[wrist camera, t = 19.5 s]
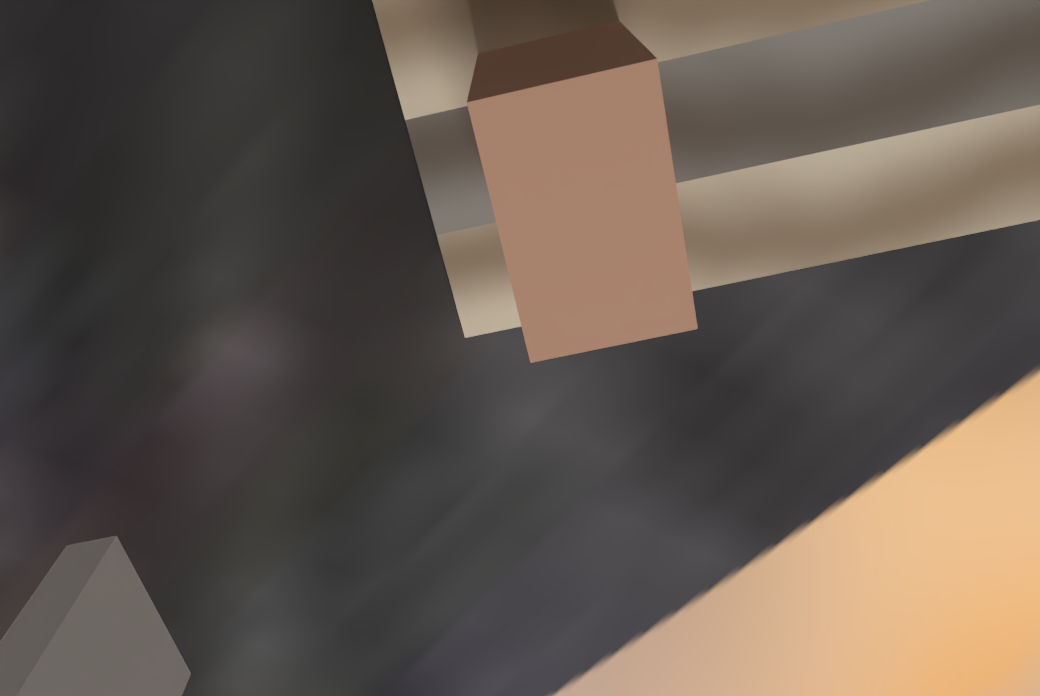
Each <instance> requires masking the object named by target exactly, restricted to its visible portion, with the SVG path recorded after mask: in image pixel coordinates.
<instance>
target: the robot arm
mask: <svg viewBox="0 0 1040 696" xmlns="http://www.w3.org/2000/svg"><path fill="white" fill-rule="evenodd" d="M190 675H191V673H190V671H189V669H188V667H187V665H186V664H185V662H184V660H183V658H182V656H181V654H180V652H179V651H178V649H177V647H176V645H175V643H174V641H173V640H172V638H171V636H170V634H169V632H168V630H167V628H166V627H165V625H164V623H163V621H162V619H161V617H160V615H159V614H158V612H157V610H156V608H155V606H154V604H153V602H152V601H151V599H150V597H149V595H148V593H147V591H146V589H145V588H144V586H143V584H142V582H141V580H140V578H139V577H138V575H137V573H136V571H135V569H134V567H133V565H132V564H131V562H130V560H129V558H128V556H127V554H126V552H125V551H124V549H123V547H122V545H121V543H120V541H119V539H118V538H117V536H112V537H107V538H102V539H97V540H92V541H87V542H82V543H77V544H72V545H67V546H66V547H65V549H64V550H63V552H62V553H61V554H60V556H59V557H58V559H57V560H56V562H55V563H54V565H53V566H52V567H51V569H50V570H49V572H48V573H47V575H46V576H45V577H44V579H43V580H42V582H41V583H40V585H39V586H38V588H37V589H36V590H35V592H34V593H33V595H32V596H31V598H30V599H29V601H28V602H27V603H26V605H25V606H24V608H23V609H22V611H21V612H20V614H19V615H18V616H17V618H16V619H15V621H14V622H13V624H12V625H11V626H10V628H9V629H8V631H7V632H6V634H5V635H4V637H3V638H2V639H1V641H0V696H182V694H183V692H184V689H185V687H186V684H187V682H188V680H189V677H190Z"/></svg>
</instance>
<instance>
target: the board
mask: <svg viewBox="0 0 1040 696" xmlns="http://www.w3.org/2000/svg"><path fill="white" fill-rule="evenodd" d="M372 2H373V5H374V9H375V13H376V16H377V20H378V23H379V27H380V31H381V34H382V38H383V42H384V45H385V49H386V53H387V56H388V60H389V63H390V67H391V71H392V74H393V78H394V82H395V85H396V89H397V93H398V96H399V100H400V103H401V107H402V111H403V114H404V118H405V122H406V125H407V129H408V132H409V136H410V140H411V143H412V147H413V151H414V154H415V158H416V162H417V165H418V169H419V172H420V176H421V180H422V183H423V187H424V191H425V194H426V198H427V201H428V205H429V209H430V212H431V216H432V220H433V223H434V227H435V231H436V234H437V238H438V241H439V245H440V249H441V252H442V256H443V260H444V263H445V267H446V270H447V274H448V278H449V281H450V285H451V289H452V292H453V296H454V300H455V303H456V307H457V310H458V314H459V318H460V321H461V325H462V329H463V332H464V336H465V338H467V337H472V336H476V335H481V334H486V333H491V332H496V331H501V330H506V329H511V328H515V327H520V326H521V322H520V318H519V314H518V310H517V306H516V302H515V298H514V294H513V289H512V285H511V281H510V277H509V273H508V269H507V265H506V261H505V257H504V253H503V249H502V244H501V240H500V236H499V232H498V228H497V224H496V220H495V216H494V212H493V208H492V204H491V200H490V195H489V191H488V187H487V183H486V179H485V175H484V171H483V167H482V163H481V159H480V155H479V151H478V146H477V142H476V138H475V134H474V130H473V126H472V122H471V118H470V114H469V110H468V106H467V99H468V95H469V90H470V86H471V82H472V77H473V73H474V68H475V64H476V60H477V55H478V54H479V53H483V52H487V51H491V50H496V49H500V48H504V47H508V46H513V45H517V44H521V43H525V42H530V41H534V40H538V39H542V38H547V37H551V36H555V35H559V34H564V33H568V32H572V31H576V30H581V29H585V28H589V27H593V26H598V25H602V24H606V23H610V22H615V21H620V22H621V23H622V24H623V25H624V26H625V27H626V28H627V29H628V30H629V31H630V32H631V33H632V34H633V35H634V36H635V37H636V38H637V39H638V40H639V41H640V42H641V43H642V44H643V45H644V46H645V47H646V48H647V49H648V50H649V51H650V52H651V53H652V54H653V55H654V56H655V57H656V58H657V60H658V67H659V74H660V80H661V87H662V94H663V100H664V107H665V114H666V121H667V127H668V134H669V141H670V147H671V154H672V161H673V167H674V174H675V181H676V187H677V194H678V201H679V207H680V214H681V221H682V228H683V234H684V241H685V248H686V254H687V261H688V268H689V274H690V281H691V288H692V291H695V290H700V289H705V288H710V287H715V286H720V285H725V284H729V283H734V282H739V281H744V280H749V279H754V278H759V277H764V276H768V275H773V274H778V273H783V272H788V271H793V270H798V269H802V268H807V267H812V266H817V265H822V264H827V263H832V262H837V261H841V260H846V259H851V258H856V257H861V256H866V255H871V254H875V253H880V252H885V251H890V250H895V249H900V248H905V247H910V246H914V245H919V244H924V243H929V242H934V241H939V240H944V239H948V238H953V237H958V236H963V235H968V234H973V233H978V232H983V231H987V230H992V229H997V228H1002V227H1007V226H1012V225H1017V224H1021V223H1026V222H1031V221H1036V220H1040V0H372Z"/></svg>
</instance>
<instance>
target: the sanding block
mask: <svg viewBox="0 0 1040 696" xmlns="http://www.w3.org/2000/svg"><path fill="white" fill-rule="evenodd" d="M467 106H468V110H469V114H470V118H471V122H472V126H473V130H474V134H475V138H476V142H477V146H478V151H479V155H480V159H481V163H482V167H483V171H484V175H485V179H486V183H487V187H488V191H489V195H490V200H491V204H492V208H493V212H494V216H495V220H496V224H497V228H498V232H499V236H500V240H501V244H502V249H503V253H504V257H505V261H506V265H507V269H508V273H509V277H510V281H511V285H512V289H513V294H514V298H515V302H516V306H517V310H518V314H519V318H520V322H521V326H522V330H523V334H524V338H525V343H526V347H527V351H528V355H529V359H530V363H532V362H537V361H542V360H547V359H552V358H557V357H562V356H567V355H571V354H576V353H581V352H586V351H591V350H596V349H601V348H606V347H611V346H616V345H621V344H626V343H630V342H635V341H640V340H645V339H650V338H655V337H660V336H665V335H670V334H675V333H680V332H685V331H690V330H694V329H698V328H697V321H696V314H695V308H694V301H693V294H692V288H691V281H690V274H689V268H688V261H687V254H686V248H685V241H684V234H683V228H682V221H681V214H680V207H679V201H678V194H677V187H676V181H675V174H674V167H673V161H672V154H671V147H670V141H669V134H668V127H667V121H666V114H665V107H664V100H663V94H662V87H661V80H660V74H659V67H658V60H657V58H656V57H655V56H654V55H653V54H652V53H651V52H650V51H649V50H648V49H647V48H646V47H645V46H644V45H643V44H642V43H641V42H640V41H639V40H638V39H637V38H636V37H635V36H634V35H633V34H632V33H631V32H630V31H629V30H628V29H627V28H626V27H625V26H624V25H623V24H622V23H621V22H620V21H615V22H610V23H606V24H602V25H598V26H593V27H589V28H585V29H581V30H576V31H572V32H568V33H564V34H559V35H555V36H551V37H547V38H542V39H538V40H534V41H530V42H525V43H521V44H517V45H513V46H508V47H504V48H500V49H496V50H491V51H487V52H483V53H479V54H478V55H477V60H476V64H475V68H474V73H473V77H472V82H471V86H470V90H469V95H468V99H467Z"/></svg>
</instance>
